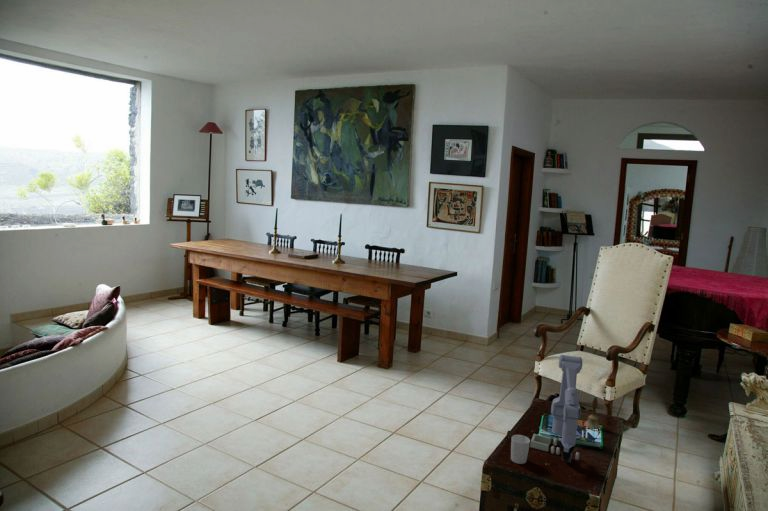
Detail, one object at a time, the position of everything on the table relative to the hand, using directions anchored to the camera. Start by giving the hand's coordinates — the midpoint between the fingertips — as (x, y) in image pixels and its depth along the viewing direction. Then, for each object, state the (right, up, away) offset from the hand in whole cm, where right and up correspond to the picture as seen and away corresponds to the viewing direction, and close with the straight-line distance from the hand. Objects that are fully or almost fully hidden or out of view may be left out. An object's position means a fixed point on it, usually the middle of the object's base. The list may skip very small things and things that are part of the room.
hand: (565, 460), depth 232 cm
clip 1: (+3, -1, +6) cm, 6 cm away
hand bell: (+26, +2, +38) cm, 46 cm away
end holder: (-7, +1, +14) cm, 16 cm away
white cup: (-21, 0, 0) cm, 21 cm away
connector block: (+1, -1, +3) cm, 4 cm away
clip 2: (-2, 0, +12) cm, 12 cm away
